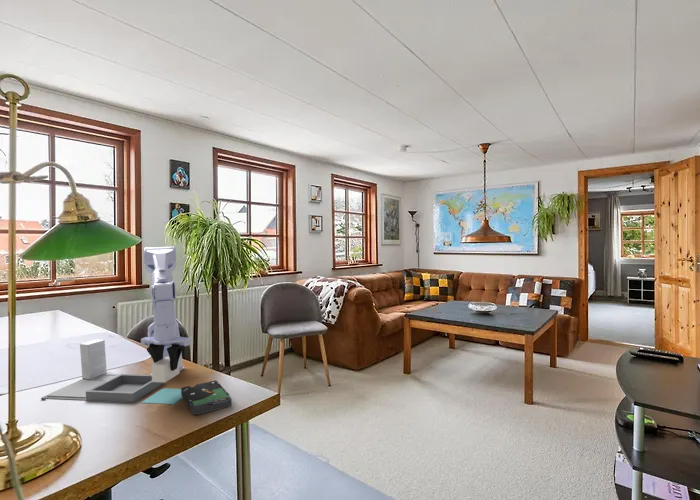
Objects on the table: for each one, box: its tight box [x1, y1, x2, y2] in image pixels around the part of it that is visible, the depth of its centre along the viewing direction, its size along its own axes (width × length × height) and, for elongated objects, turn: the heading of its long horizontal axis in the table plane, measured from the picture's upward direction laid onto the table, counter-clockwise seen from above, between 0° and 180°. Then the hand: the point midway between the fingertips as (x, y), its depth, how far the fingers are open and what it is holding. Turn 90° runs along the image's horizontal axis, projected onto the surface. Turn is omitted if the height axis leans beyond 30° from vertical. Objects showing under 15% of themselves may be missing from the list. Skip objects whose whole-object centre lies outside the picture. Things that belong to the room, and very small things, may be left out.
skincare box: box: [79, 338, 107, 380], centre depth 131 cm, size 6×4×12 cm
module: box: [150, 357, 180, 383], centre depth 111 cm, size 7×4×5 cm, turn 172°
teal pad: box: [140, 387, 184, 406], centre depth 112 cm, size 10×10×1 cm
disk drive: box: [180, 380, 232, 415], centre depth 108 cm, size 10×3×15 cm
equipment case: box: [40, 373, 165, 404], centre depth 117 cm, size 14×30×3 cm, turn 82°
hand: (166, 369), depth 112 cm, fingers closed on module, 4 cm apart
